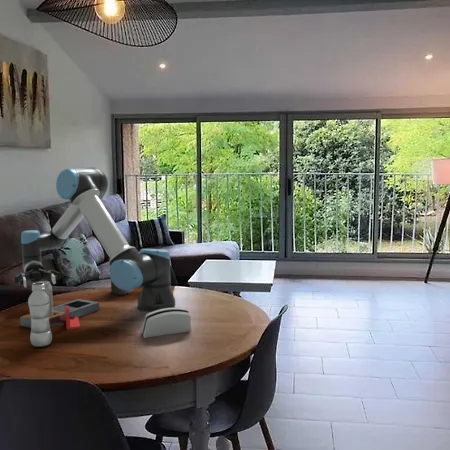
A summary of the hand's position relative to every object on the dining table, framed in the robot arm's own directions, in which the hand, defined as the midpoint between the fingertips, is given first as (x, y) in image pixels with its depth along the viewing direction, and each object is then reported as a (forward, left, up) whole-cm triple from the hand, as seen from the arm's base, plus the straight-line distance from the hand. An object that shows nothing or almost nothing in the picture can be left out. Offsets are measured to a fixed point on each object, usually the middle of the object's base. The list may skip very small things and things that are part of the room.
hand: (40, 282), depth 194 cm
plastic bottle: (-24, +21, -14) cm, 35 cm away
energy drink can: (-7, +5, -14) cm, 16 cm away
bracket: (-17, 0, -14) cm, 22 cm away
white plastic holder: (-53, -8, -14) cm, 55 cm away
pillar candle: (-2, -43, -14) cm, 45 cm away
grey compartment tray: (-7, -3, -13) cm, 15 cm away
